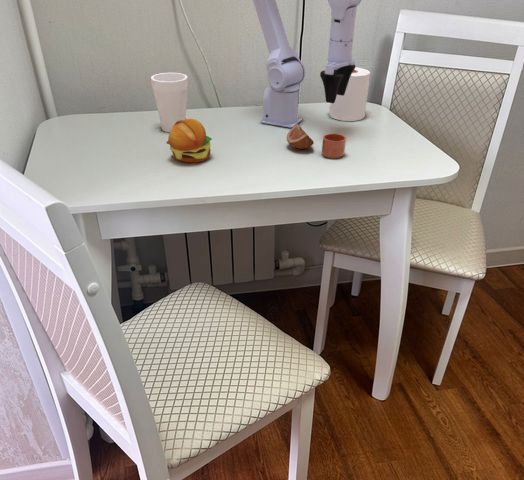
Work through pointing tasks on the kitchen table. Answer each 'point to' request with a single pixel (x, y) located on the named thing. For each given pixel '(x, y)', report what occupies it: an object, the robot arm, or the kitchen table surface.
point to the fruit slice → (299, 138)
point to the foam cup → (170, 98)
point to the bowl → (333, 145)
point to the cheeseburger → (189, 141)
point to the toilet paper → (352, 98)
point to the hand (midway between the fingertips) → (335, 98)
